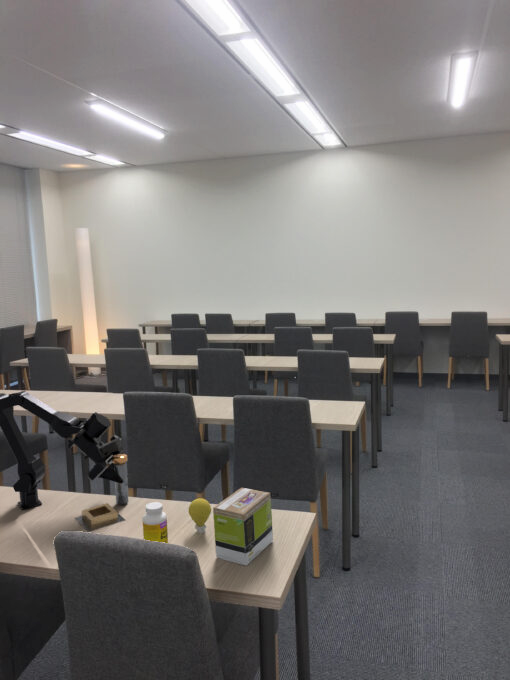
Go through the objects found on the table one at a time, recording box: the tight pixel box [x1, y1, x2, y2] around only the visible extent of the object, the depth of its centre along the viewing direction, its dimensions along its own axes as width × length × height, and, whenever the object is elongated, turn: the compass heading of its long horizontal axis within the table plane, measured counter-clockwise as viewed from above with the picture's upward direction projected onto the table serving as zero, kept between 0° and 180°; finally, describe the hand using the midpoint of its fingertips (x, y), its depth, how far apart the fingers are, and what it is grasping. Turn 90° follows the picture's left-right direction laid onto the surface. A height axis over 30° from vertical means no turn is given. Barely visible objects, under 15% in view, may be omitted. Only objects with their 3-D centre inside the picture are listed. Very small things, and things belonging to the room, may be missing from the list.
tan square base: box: [74, 503, 126, 533], centre depth 172 cm, size 12×12×3 cm
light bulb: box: [188, 498, 212, 534], centre depth 163 cm, size 7×7×10 cm
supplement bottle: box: [142, 501, 169, 544], centre depth 153 cm, size 7×7×13 cm
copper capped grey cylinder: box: [112, 453, 129, 505], centre depth 181 cm, size 5×5×16 cm
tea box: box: [212, 487, 274, 566], centre depth 151 cm, size 15×10×15 cm
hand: (124, 480), depth 181 cm, fingers closed on copper capped grey cylinder, 4 cm apart
